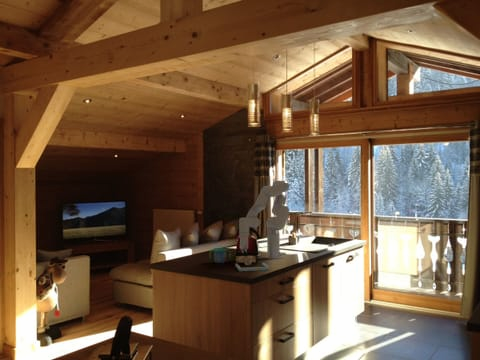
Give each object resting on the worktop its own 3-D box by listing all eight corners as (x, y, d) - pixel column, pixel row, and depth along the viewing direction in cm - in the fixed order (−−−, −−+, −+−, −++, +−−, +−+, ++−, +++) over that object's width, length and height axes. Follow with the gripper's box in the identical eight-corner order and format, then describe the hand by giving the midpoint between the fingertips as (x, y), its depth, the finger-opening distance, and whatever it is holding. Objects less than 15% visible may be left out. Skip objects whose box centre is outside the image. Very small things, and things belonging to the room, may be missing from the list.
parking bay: (263, 265, 328) (263, 262, 328) (269, 270, 311) (269, 267, 311) (235, 266, 325) (235, 263, 325) (239, 271, 308) (239, 268, 308)
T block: (254, 261, 346) (254, 255, 346) (258, 264, 332) (258, 259, 332) (236, 261, 343) (236, 256, 343) (239, 265, 330) (239, 259, 330)
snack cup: (209, 264, 334) (209, 250, 334) (209, 261, 345) (209, 247, 345) (231, 263, 336) (231, 249, 336) (230, 260, 346) (230, 247, 346)
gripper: (237, 233, 355) (238, 257, 355) (240, 235, 340) (241, 260, 341) (247, 232, 356) (247, 256, 356) (250, 235, 342) (251, 260, 342)
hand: (244, 258), depth 349 cm, fingers closed
